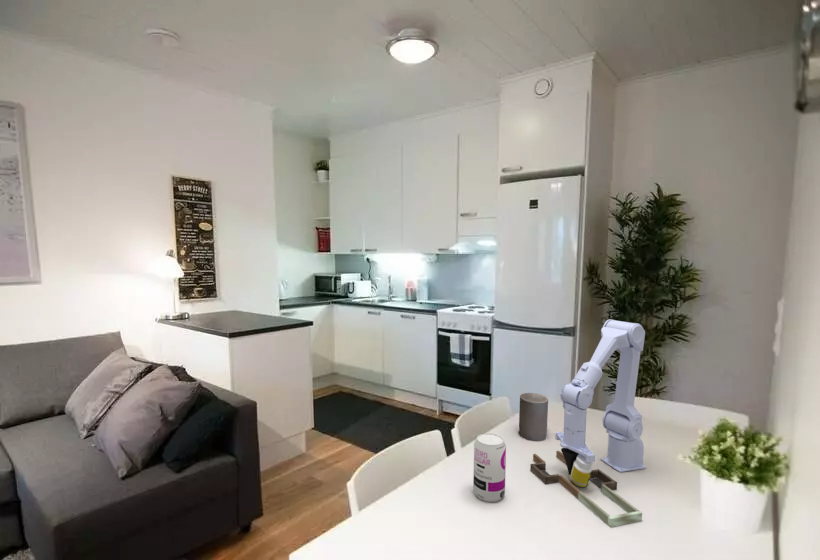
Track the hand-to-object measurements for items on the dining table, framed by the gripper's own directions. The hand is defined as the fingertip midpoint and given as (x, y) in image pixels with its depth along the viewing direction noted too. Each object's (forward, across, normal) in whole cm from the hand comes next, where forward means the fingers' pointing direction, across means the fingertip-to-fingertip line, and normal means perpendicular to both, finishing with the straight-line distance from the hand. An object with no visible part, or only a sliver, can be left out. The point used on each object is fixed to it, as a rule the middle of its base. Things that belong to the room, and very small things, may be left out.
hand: (572, 474), depth 114 cm
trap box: (+2, +3, 0) cm, 3 cm away
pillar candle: (+2, -29, +6) cm, 30 cm away
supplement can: (+2, 0, -26) cm, 26 cm away
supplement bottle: (+1, +2, 0) cm, 3 cm away
